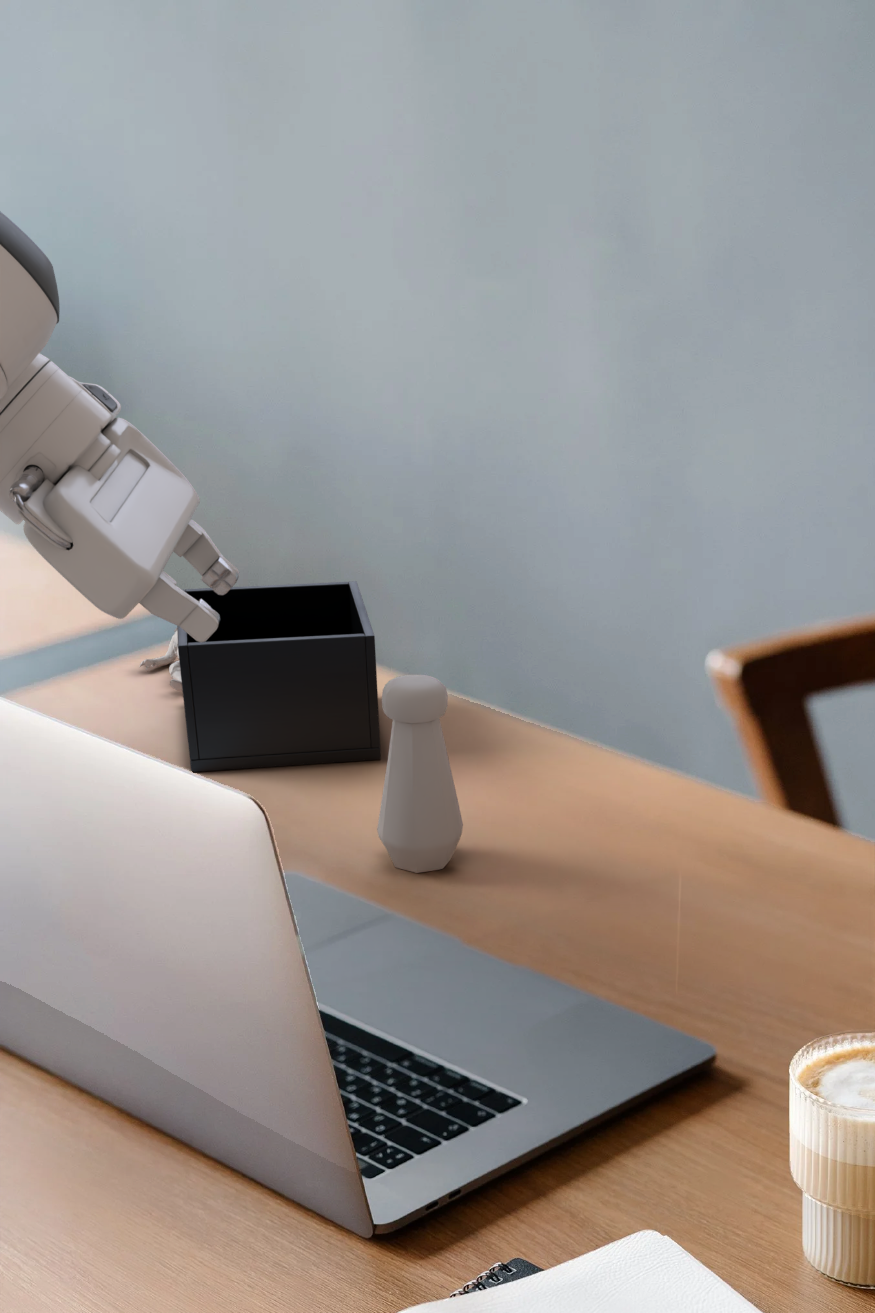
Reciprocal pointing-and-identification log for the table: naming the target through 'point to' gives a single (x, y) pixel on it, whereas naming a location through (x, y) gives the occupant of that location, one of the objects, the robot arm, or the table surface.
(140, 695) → the table surface
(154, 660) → the soldier figure
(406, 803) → the salt shaker
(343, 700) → the waste bin
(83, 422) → the robot arm
